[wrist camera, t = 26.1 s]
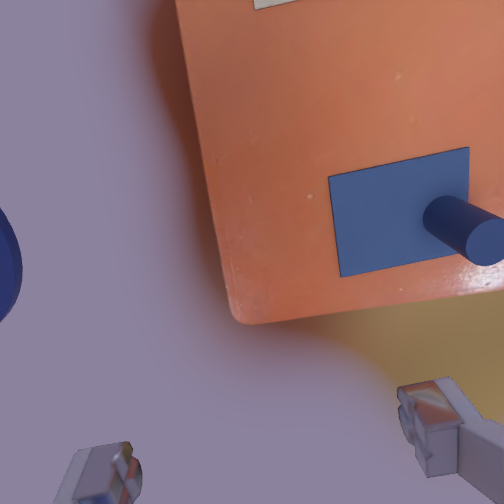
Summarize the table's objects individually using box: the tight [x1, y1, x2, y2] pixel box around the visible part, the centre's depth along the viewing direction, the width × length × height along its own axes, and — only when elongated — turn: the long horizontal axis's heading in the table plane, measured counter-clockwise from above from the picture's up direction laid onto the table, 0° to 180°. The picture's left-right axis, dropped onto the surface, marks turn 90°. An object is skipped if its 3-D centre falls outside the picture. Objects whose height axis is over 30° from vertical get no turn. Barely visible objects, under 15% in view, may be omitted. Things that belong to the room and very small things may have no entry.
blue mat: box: [328, 147, 469, 278], centre depth 45 cm, size 16×13×1 cm
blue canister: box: [423, 195, 504, 266], centre depth 41 cm, size 5×5×9 cm
